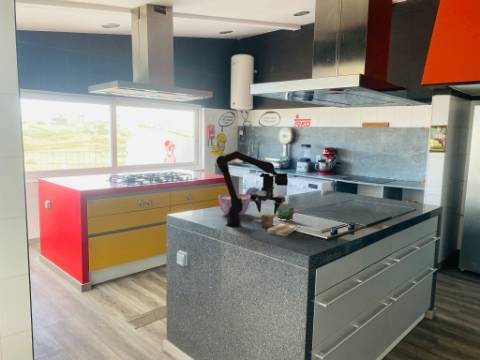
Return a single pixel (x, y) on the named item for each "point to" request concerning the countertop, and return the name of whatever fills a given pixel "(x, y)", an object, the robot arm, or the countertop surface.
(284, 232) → the oak base
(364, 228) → the countertop surface
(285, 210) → the food container
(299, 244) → the countertop surface
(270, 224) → the walnut block
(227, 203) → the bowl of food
